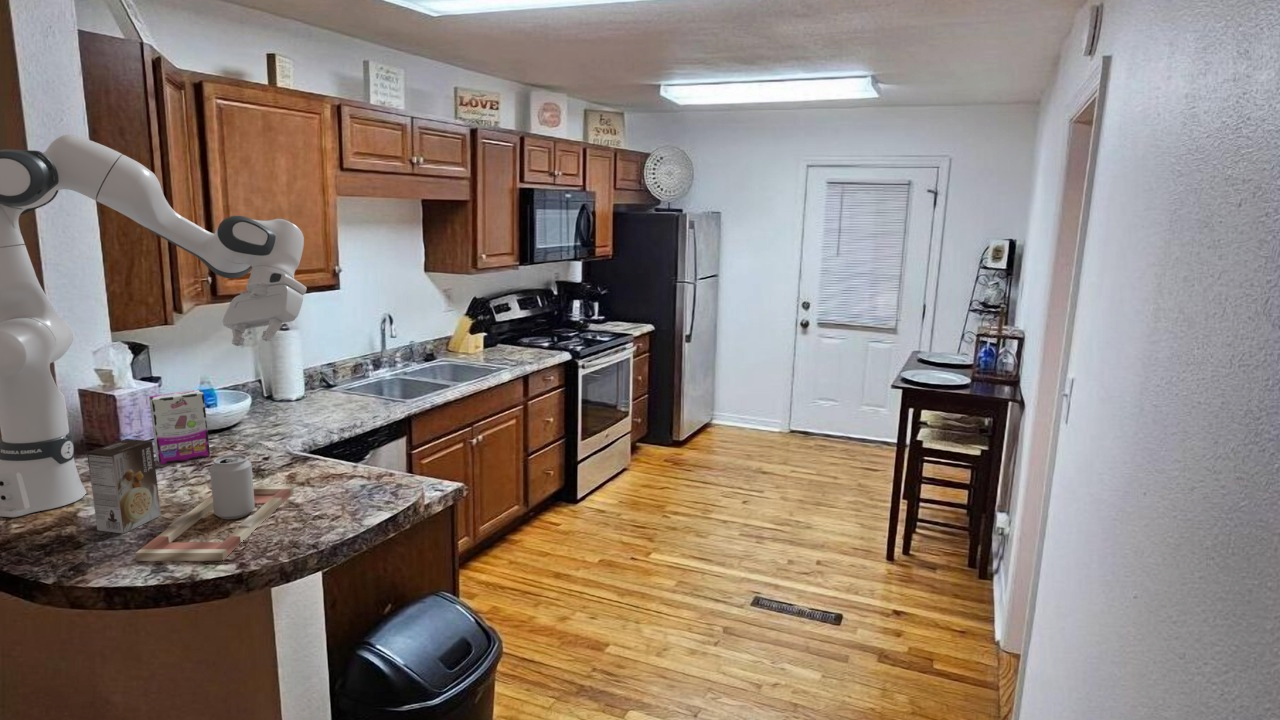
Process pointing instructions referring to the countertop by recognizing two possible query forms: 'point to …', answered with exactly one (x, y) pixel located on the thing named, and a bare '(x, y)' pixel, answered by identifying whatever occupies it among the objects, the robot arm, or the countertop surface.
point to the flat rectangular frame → (211, 551)
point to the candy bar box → (179, 426)
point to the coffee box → (124, 485)
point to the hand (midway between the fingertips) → (251, 342)
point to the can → (232, 486)
